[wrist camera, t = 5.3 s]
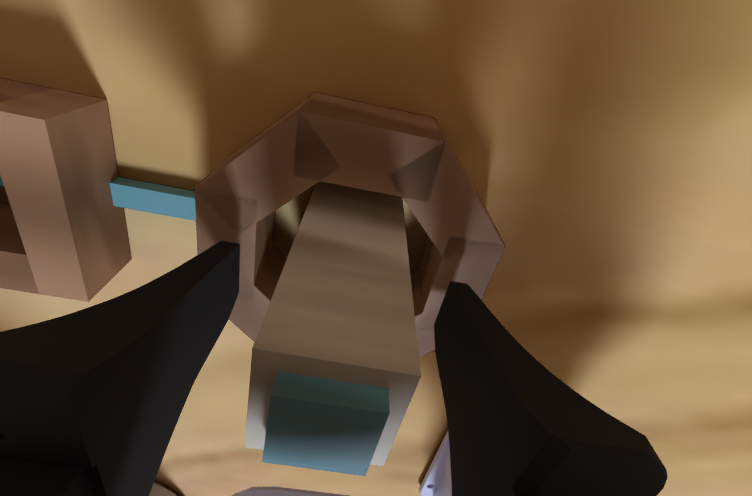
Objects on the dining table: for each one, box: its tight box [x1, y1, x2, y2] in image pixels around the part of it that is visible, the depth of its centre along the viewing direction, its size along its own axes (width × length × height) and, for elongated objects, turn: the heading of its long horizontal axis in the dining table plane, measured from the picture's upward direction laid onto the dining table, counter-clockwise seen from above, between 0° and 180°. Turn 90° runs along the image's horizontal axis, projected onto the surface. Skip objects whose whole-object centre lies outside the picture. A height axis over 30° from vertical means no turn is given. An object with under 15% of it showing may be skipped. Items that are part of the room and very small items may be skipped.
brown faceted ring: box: [194, 92, 505, 357], centre depth 15 cm, size 10×10×3 cm
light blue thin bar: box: [0, 175, 196, 221], centre depth 15 cm, size 1×11×1 cm, turn 79°
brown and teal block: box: [245, 181, 421, 476], centre depth 12 cm, size 4×4×10 cm
